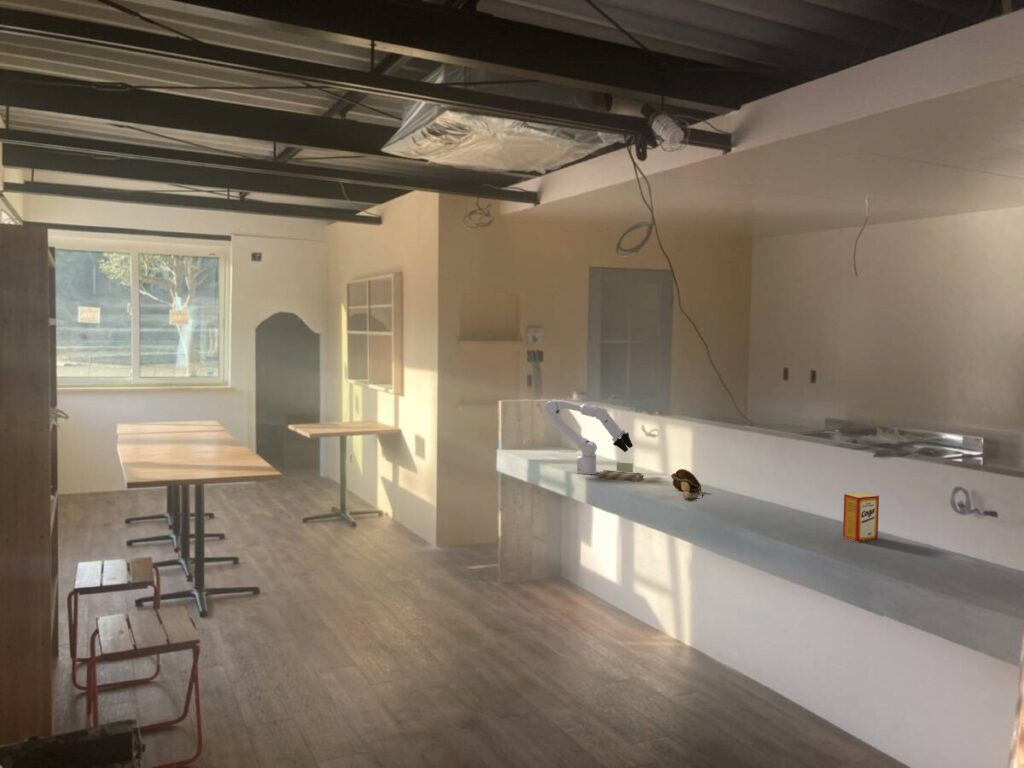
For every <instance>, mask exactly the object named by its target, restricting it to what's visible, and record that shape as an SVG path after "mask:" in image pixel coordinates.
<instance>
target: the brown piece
mask: <svg viewBox="0 0 1024 768" xmlns="http://www.w3.org/2000/svg"><path fill="white" fill-rule="evenodd" d="M670 475H671V476H670V477H671V479H672V486H673V487H674V489H676V490H678V491H680V490H683V491H682V497H683V499H684V500H686V501H687V500H688V501H690V500H691V499H693V498H694V499H698V498H697V497H698V496H695V495H692V494H691V492H697V493H699V494H700V497H701V496H702V495H703V496H704V492H703V491H702V484H701V483H700V481H699V480H698V479H697V477H696V476H695V475H694V474H693V473H692V472H691V471H690V470H687V469H685V468H680V469H678V470H676V471H675V472H674V473H672V474H670Z"/></svg>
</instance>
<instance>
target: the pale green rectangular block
mask: <svg viewBox="0 0 1024 768" xmlns="http://www.w3.org/2000/svg"><path fill="white" fill-rule="evenodd" d="M616 471H621V472H633V473H634V462H627V461H626V462H625V461H616Z"/></svg>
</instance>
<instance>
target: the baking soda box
mask: <svg viewBox="0 0 1024 768" xmlns="http://www.w3.org/2000/svg"><path fill="white" fill-rule="evenodd" d="M843 495H844V497H843V523H842V527H843V529H842V537H843V536H844V537H847V538H850V539H853V540H855V541H862V542H864V541H863V540H870V539H876V538H878V537H879V536H878V534H879V512H880V511H879V507H880V506H879V505H880V503H879V502H880V496H879V495H878V494H872V493H870V492H869V493H868V492H865V491H863V492H851V493H845V494H843ZM855 541H854V542H855ZM870 541H871V540H870Z"/></svg>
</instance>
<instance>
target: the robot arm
mask: <svg viewBox="0 0 1024 768" xmlns="http://www.w3.org/2000/svg"><path fill="white" fill-rule="evenodd" d="M564 409H567V410H572V411H577V412H579V413H581V415H582V416H587V417H592V418H595V419H597V420H599V422H600V423H601V425H602V426H603V427H604V428H605V430H607V432H608V434H610V436H611V437H612V438H611V440H612V441H613V443H612V444H613V446H616V447H617V448H618V449H620V450H621V451H623V452H624V453H626V452H628V451H629V449H631V448H632V447H634V445H633V442H632V441H631V439H630V434H629V432H626V431H625V430H624V429H623V430H622V428H620V426H619V425H618V424H617V423H616V421H615V420H614V418H612V416H611V415H610V414H609V413H608V409H607V408H605V407H604V406H600V407H599V405H592V404H590V402H586V403H583V404H582V405H581V404H577V403H574V402H570V401H567V400H562V399H556V398H553V399H551V400H548V401H546V402H545V404H544V413H545V414H546V417H547V418H548V422H549V423H550V424H551V425H552V426H553V427H554V428H555V429H557V430H558V431H559V432H560V433H561V434H563V435H564V436H565V437H567V438H568V439H569V440H570V441H572V442H573V443H574V444H575V445H576V446H577V448H578V450H580V452H581V455H580V454H579V455H578V456H577V457H576V458H577V459H576V472H575V473H576V474H580V475H582V474H583V475H591V474H592V475H596V474H599V473H600V471H599V470H597V454H596V452H597V449H598V446H597V443H595V442H594V441H591V440H589V439H587V438H585V437H583V436H582V435H581V434H580V433H579V432H577V431H576V430H575V429H573V428H572V427H571V426H570V425H568V424H567V423H566V422H565V421H564V420H562V419H561V418H560V410H564Z"/></svg>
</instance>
